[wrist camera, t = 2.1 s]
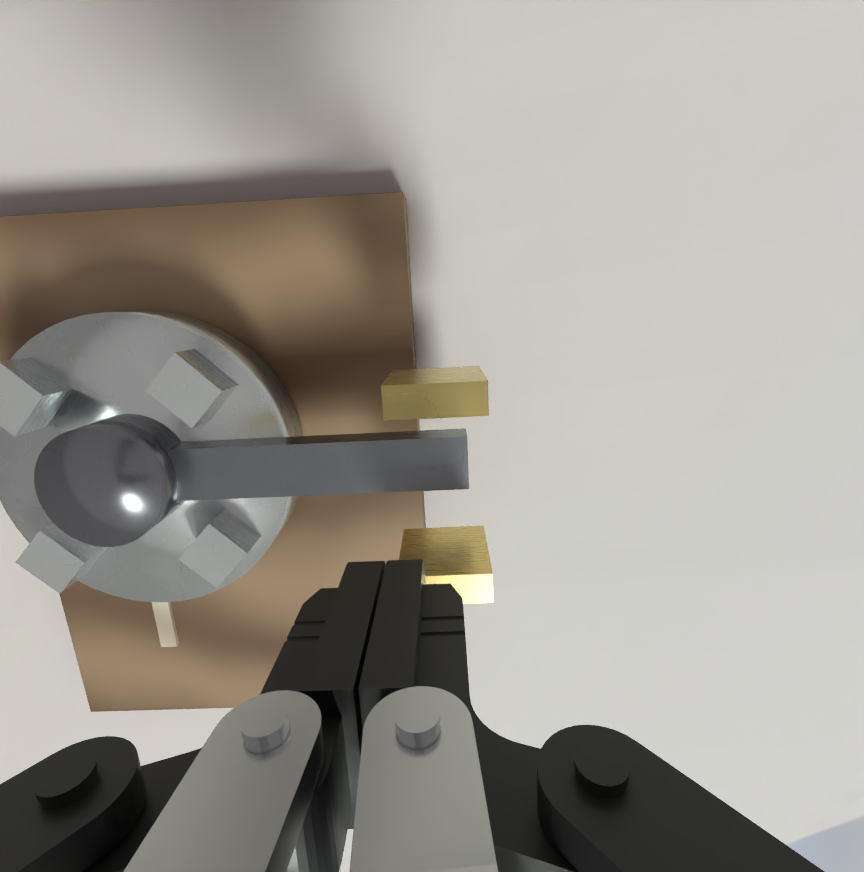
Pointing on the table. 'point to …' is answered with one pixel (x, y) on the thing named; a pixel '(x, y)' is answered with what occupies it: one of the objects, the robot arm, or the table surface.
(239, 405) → the silver rotary lever
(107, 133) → the table surface
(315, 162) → the table surface
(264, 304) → the base plate
